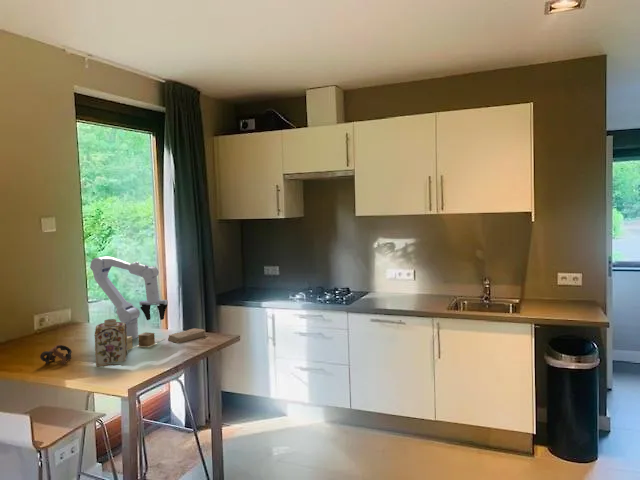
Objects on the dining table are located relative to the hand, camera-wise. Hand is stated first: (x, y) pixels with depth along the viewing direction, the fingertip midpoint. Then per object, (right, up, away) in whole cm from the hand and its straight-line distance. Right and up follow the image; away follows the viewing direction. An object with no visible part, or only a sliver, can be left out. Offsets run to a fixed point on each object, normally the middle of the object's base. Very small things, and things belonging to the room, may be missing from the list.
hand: (155, 319), depth 249 cm
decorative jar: (-8, -13, -31) cm, 35 cm away
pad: (+1, -10, -3) cm, 10 cm away
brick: (+15, -11, 0) cm, 19 cm away
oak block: (-9, -10, -17) cm, 21 cm away
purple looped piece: (-32, -14, -32) cm, 47 cm away
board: (-3, -11, -11) cm, 16 cm away
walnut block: (-1, -10, -11) cm, 15 cm away
